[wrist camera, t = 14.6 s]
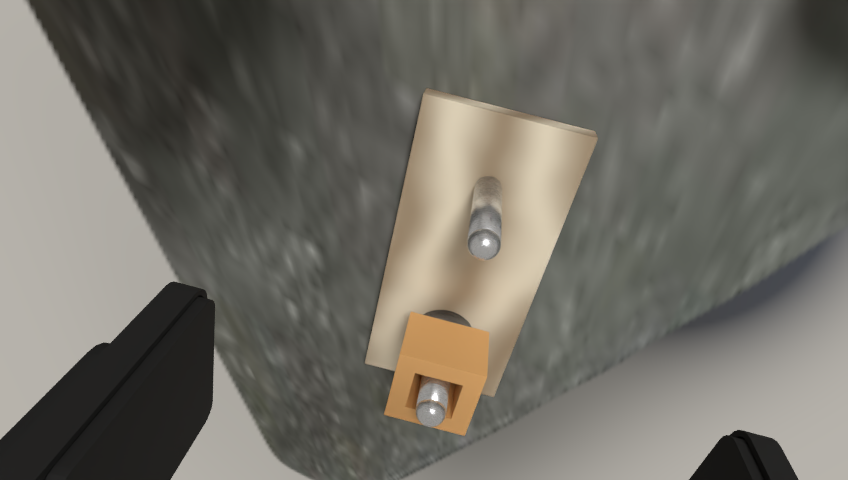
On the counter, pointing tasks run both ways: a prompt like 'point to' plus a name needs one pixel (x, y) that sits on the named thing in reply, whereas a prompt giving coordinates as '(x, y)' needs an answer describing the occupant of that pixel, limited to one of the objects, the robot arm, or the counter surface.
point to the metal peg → (435, 383)
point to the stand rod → (485, 219)
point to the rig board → (450, 217)
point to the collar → (440, 369)
